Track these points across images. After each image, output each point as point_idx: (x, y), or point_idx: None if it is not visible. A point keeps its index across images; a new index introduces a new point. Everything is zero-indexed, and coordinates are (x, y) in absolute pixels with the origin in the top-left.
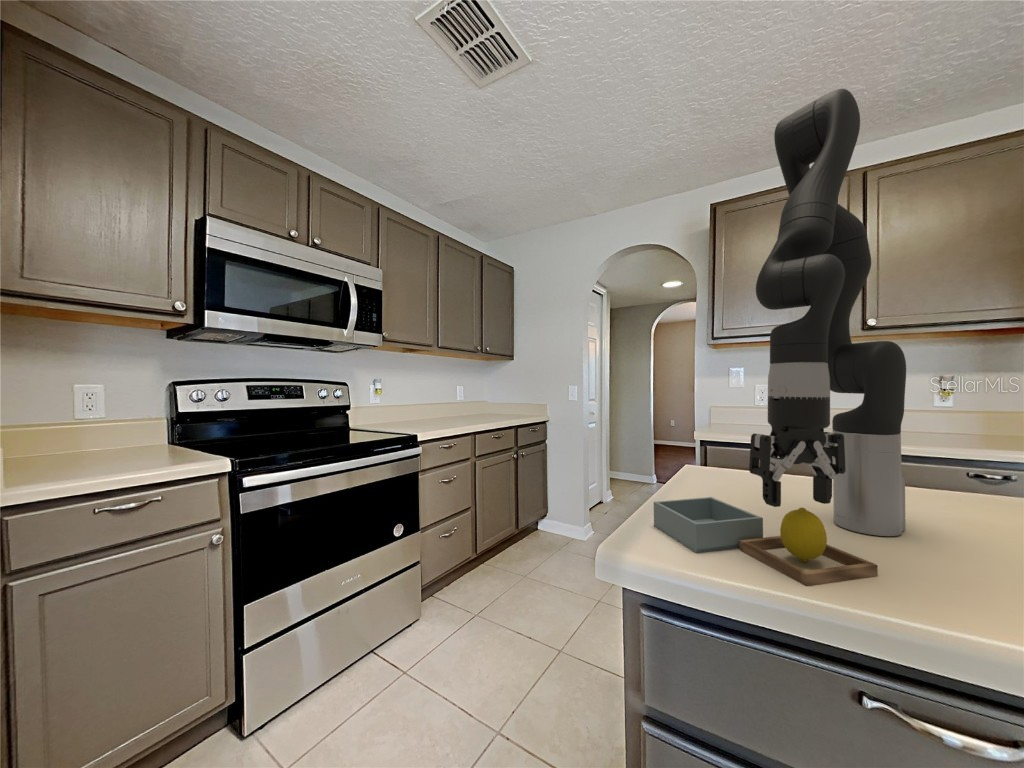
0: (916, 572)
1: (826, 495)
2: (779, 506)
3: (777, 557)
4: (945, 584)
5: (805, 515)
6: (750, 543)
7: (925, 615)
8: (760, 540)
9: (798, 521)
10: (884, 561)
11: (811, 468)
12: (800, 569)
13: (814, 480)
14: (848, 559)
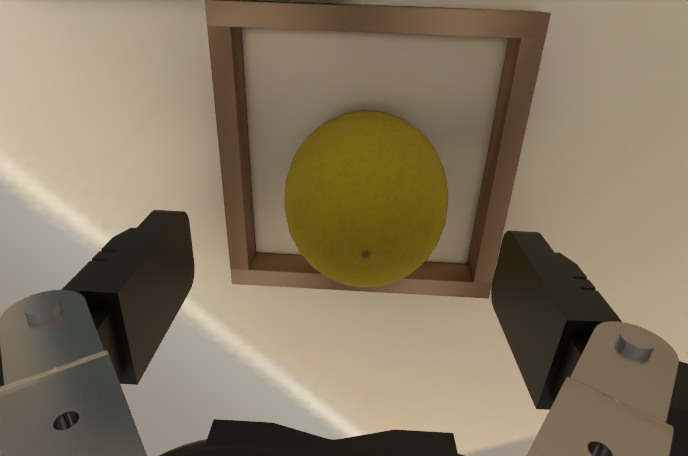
0: (611, 292)
1: (504, 326)
2: (193, 274)
3: (236, 181)
4: None
5: (341, 271)
6: (229, 48)
7: (374, 397)
8: (299, 28)
9: (304, 254)
10: (623, 224)
11: (576, 368)
12: (239, 260)
13: (553, 306)
14: (480, 227)
